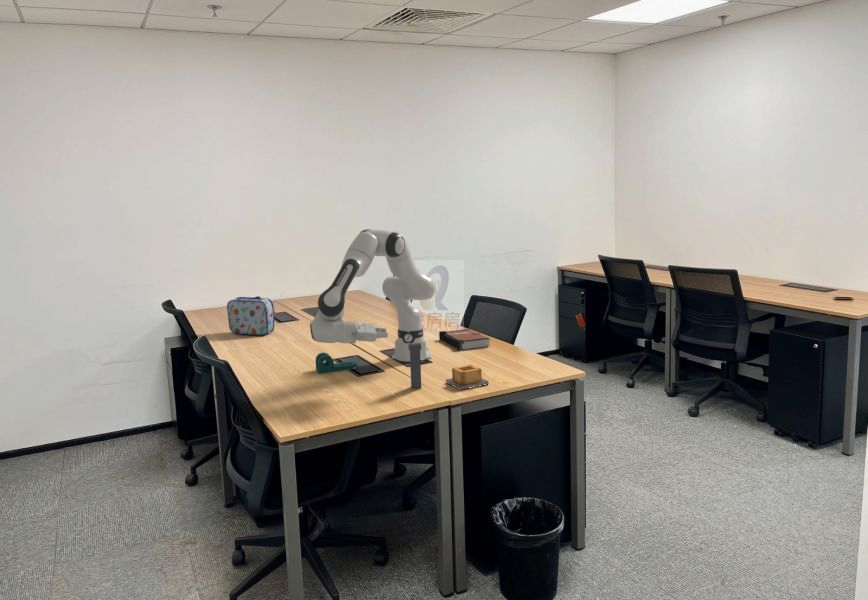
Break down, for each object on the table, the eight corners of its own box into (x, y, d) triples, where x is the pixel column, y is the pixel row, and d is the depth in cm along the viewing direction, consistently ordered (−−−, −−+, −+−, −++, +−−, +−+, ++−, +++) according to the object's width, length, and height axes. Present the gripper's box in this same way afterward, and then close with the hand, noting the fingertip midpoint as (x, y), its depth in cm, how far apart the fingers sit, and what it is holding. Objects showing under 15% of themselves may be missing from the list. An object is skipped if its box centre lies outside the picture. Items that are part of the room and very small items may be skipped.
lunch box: (279, 332, 390) (277, 294, 386) (270, 337, 380) (267, 297, 376) (237, 331, 398) (234, 293, 394) (227, 335, 388) (223, 296, 384)
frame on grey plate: (461, 390, 274) (460, 374, 272) (445, 383, 284) (445, 367, 283) (488, 384, 280) (488, 369, 279) (472, 377, 290) (472, 362, 289)
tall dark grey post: (410, 389, 277) (408, 345, 274) (409, 386, 280) (408, 343, 277) (422, 388, 277) (421, 344, 274) (422, 386, 280) (420, 343, 277)
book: (491, 347, 343) (491, 337, 342) (459, 351, 337) (459, 341, 336) (469, 337, 367) (469, 327, 366) (439, 340, 361) (439, 331, 360)
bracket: (319, 374, 304) (318, 356, 302) (316, 370, 310) (315, 353, 308) (359, 369, 310) (358, 352, 309) (355, 365, 316) (354, 348, 315)
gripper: (352, 328, 262) (388, 329, 264) (351, 320, 282) (385, 321, 284) (351, 345, 263) (388, 345, 264) (351, 335, 283) (385, 336, 284)
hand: (386, 332), depth 274 cm, fingers open, 8 cm apart
